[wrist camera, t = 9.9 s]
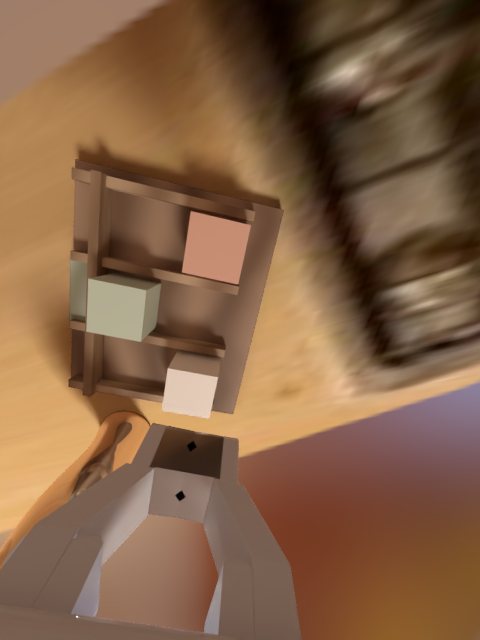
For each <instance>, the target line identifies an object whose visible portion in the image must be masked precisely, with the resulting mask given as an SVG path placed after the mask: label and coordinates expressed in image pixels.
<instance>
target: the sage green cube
mask: <svg viewBox="0 0 480 640" xmlns="http://www.w3.org/2000/svg"><path fill="white" fill-rule="evenodd" d="M160 290H161V283H158V282H153V281H148V280H143V279H139V278H134V277H129V276H124V275H120V274H115V273H112V274H107V275H102V276H97V277H93V278H88V301H87V328H86V332H91V333H96V334H102V335H107V336H112V337H117V338H123V339H128V340H133V341H138V342H141V341H142V340H143V339H144V338H145V337H146V336H147V335H148V334H149V333H150V332H151V331H152V330H153V329H154V328H155V327H156V322H157V314H158V306H159V298H160Z"/></svg>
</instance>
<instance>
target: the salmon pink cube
mask: <svg viewBox="0 0 480 640" xmlns="http://www.w3.org/2000/svg"><path fill="white" fill-rule="evenodd" d="M250 228H251V225H248V224H243V223H239V222H235V221H231V220H227V219H222V218H218V217H214V216H210V215H205V214H201V213H197V212H193V211H191V214H190V220H189V227H188V234H187V241H186V248H185V254H184V261H183V268H182V273H187V274H192V275H196V276H201V277H206V278H210V279H215V280H220V281H224V282H229V283H233V284H238V283H239V279H240V274H241V269H242V265H243V260H244V255H245V251H246V246H247V242H248V237H249V232H250Z"/></svg>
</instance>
